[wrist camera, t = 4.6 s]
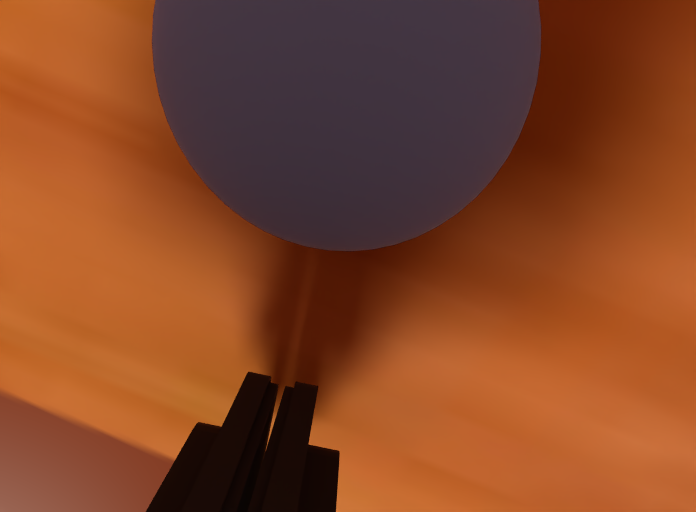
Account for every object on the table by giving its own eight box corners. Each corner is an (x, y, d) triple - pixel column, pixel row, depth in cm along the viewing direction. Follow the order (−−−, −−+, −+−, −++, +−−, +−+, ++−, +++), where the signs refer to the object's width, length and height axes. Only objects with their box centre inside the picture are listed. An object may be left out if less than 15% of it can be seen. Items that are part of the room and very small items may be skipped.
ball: (516, -20, 9) (748, -250, 4) (438, 241, 10) (520, 354, 5) (246, -89, 9) (64, -442, 3) (206, 185, 10) (35, 243, 5)
